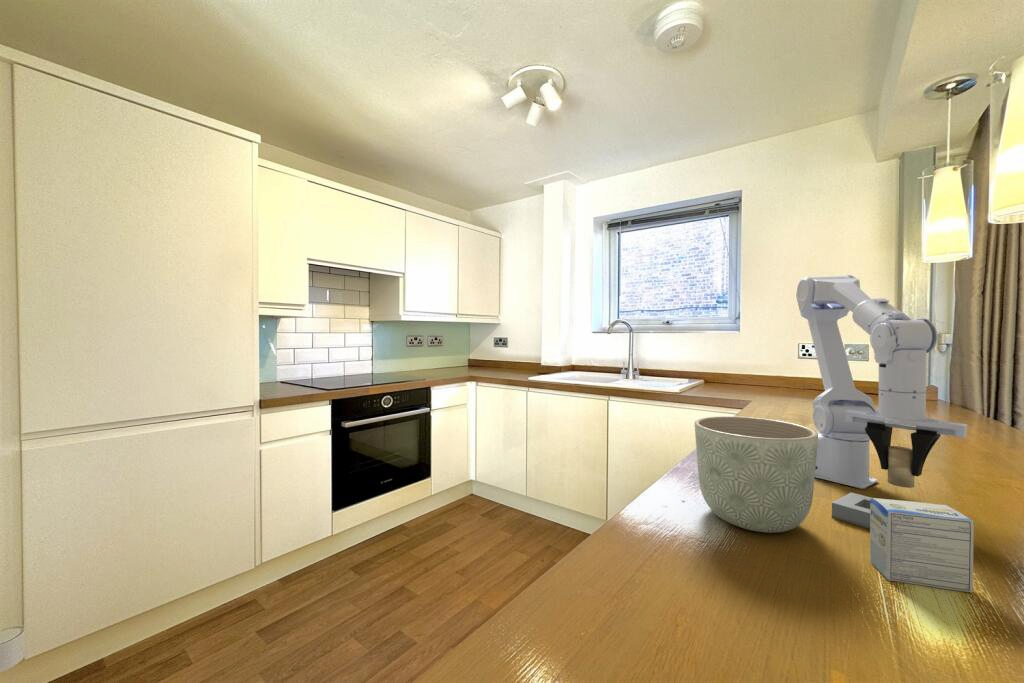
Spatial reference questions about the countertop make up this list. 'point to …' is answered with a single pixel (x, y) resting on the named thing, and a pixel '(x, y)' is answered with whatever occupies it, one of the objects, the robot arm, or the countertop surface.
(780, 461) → the planter
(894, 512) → the medicine box
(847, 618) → the countertop surface
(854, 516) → the hole block
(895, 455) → the maple pin
